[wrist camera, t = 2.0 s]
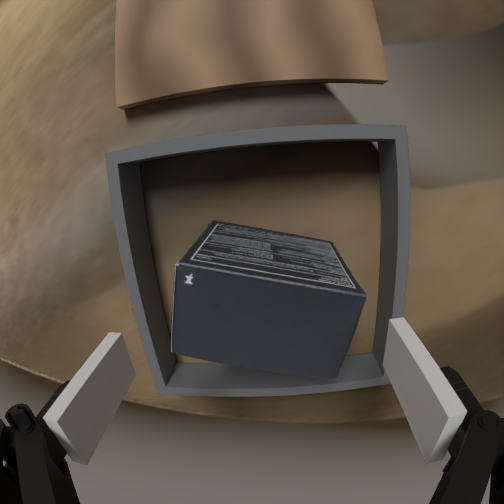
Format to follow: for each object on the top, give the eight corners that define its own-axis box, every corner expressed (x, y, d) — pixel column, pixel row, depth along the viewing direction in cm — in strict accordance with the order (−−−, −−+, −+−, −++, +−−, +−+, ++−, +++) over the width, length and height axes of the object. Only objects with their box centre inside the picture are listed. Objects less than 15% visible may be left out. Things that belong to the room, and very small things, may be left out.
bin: (387, 130, 22) (406, 125, 19) (380, 359, 29) (391, 383, 25) (127, 153, 24) (105, 153, 21) (169, 369, 31) (158, 393, 27)
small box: (201, 289, 28) (165, 357, 18) (210, 218, 26) (170, 256, 16) (317, 309, 27) (336, 385, 17) (335, 240, 26) (370, 291, 15)
